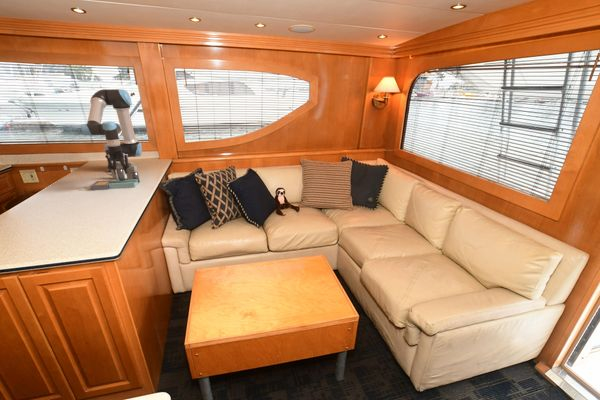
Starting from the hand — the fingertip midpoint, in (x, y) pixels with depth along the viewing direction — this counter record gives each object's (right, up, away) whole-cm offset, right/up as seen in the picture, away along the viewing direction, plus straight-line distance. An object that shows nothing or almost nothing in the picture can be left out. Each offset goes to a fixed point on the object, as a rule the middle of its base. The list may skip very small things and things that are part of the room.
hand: (122, 178), depth 193 cm
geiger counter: (-11, +1, +18) cm, 21 cm away
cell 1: (0, -1, 0) cm, 1 cm away
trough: (0, -6, +2) cm, 6 cm away
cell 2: (+4, -2, +11) cm, 12 cm away
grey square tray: (-13, -7, -1) cm, 15 cm away
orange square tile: (-13, -5, -1) cm, 14 cm away
